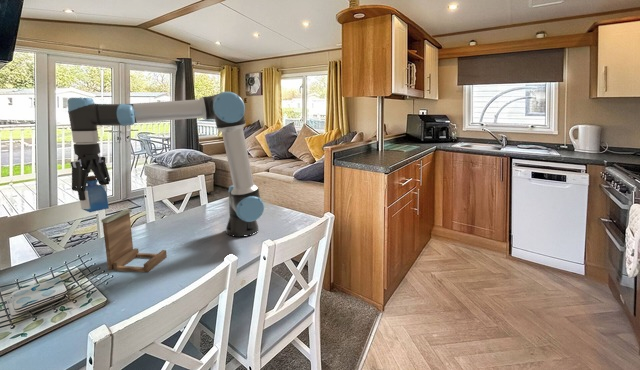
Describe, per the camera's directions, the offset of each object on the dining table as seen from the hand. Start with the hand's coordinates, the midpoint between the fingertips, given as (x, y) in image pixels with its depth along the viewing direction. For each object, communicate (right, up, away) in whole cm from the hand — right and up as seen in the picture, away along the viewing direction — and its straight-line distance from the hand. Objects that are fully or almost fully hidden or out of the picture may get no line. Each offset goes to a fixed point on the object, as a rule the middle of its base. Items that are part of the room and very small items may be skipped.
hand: (95, 205), depth 123 cm
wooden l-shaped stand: (+14, -22, +4) cm, 26 cm away
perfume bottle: (0, -2, 0) cm, 2 cm away
